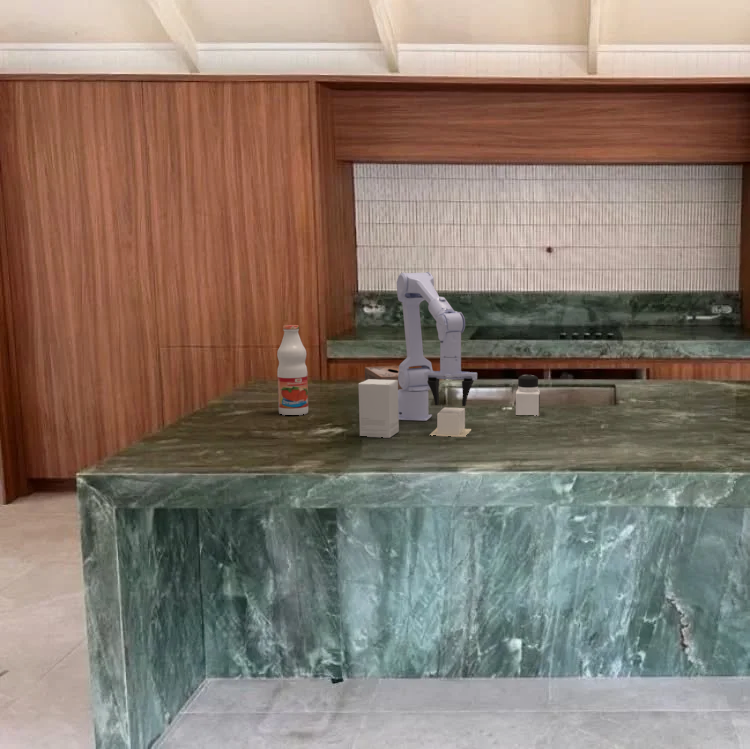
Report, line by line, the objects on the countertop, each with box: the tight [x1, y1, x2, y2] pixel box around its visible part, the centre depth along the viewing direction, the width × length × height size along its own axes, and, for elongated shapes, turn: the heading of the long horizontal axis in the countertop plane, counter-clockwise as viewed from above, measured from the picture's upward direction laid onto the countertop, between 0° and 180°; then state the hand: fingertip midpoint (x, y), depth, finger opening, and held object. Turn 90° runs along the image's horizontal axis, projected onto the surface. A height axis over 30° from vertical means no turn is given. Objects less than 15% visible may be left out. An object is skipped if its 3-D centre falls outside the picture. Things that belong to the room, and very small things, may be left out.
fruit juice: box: [276, 324, 309, 416], centre depth 268 cm, size 9×9×28 cm
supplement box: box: [357, 379, 400, 439], centre depth 236 cm, size 9×9×15 cm
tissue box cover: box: [364, 365, 402, 390], centre depth 294 cm, size 26×14×10 cm, turn 13°
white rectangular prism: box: [436, 407, 466, 435], centre depth 238 cm, size 10×6×6 cm, turn 164°
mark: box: [429, 427, 472, 438], centre depth 238 cm, size 10×10×1 cm
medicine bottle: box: [515, 374, 541, 417], centre depth 262 cm, size 7×7×12 cm
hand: (450, 405), depth 237 cm, fingers open, 7 cm apart
